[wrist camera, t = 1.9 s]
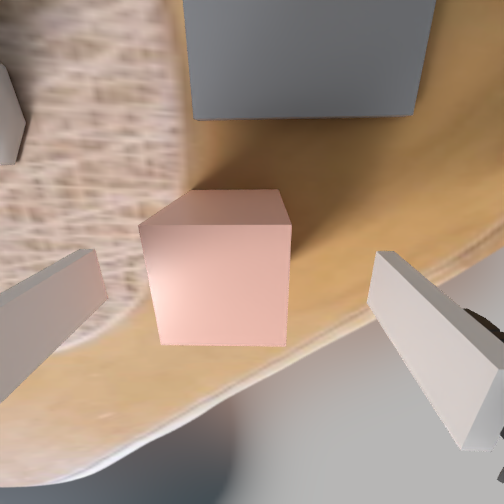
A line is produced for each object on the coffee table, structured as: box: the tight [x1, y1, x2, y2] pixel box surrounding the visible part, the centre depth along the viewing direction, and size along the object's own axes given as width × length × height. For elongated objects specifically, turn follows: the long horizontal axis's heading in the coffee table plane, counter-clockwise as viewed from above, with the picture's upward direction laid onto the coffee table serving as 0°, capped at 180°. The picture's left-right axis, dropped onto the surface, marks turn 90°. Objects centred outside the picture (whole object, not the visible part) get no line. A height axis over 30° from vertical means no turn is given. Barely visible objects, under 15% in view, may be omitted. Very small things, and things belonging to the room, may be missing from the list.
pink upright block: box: [138, 189, 292, 346], centre depth 15 cm, size 6×6×8 cm
